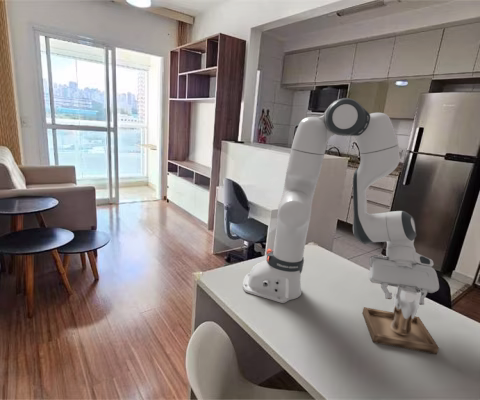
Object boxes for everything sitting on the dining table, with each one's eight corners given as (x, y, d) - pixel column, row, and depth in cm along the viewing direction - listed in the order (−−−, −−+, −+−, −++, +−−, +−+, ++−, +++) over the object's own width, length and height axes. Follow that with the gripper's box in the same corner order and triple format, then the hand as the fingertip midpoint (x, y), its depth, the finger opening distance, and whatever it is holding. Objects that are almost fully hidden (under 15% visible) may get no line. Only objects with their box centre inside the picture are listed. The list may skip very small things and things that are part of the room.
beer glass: (416, 338, 90) (426, 295, 86) (391, 334, 91) (400, 291, 87) (408, 324, 96) (417, 283, 93) (385, 320, 98) (393, 280, 94)
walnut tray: (372, 342, 88) (374, 335, 88) (362, 313, 102) (363, 307, 101) (436, 354, 86) (438, 347, 85) (416, 323, 99) (418, 317, 99)
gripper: (372, 250, 96) (373, 293, 90) (438, 261, 93) (444, 305, 87) (365, 257, 102) (366, 297, 95) (428, 267, 99) (433, 309, 92)
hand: (404, 301), depth 91 cm, fingers open, 8 cm apart
